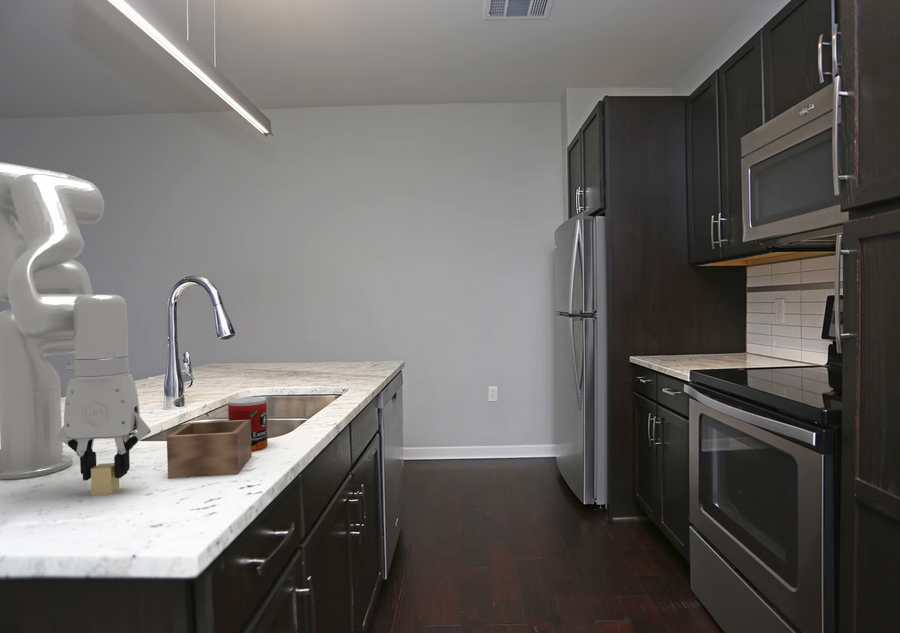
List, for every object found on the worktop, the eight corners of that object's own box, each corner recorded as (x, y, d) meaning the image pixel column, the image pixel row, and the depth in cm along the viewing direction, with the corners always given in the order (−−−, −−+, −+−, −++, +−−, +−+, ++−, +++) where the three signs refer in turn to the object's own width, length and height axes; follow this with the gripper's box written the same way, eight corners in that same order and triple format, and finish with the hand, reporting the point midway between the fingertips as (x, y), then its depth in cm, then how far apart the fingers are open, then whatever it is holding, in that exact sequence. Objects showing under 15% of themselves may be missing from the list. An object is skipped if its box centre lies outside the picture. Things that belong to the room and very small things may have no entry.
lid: (43, 517, 83) (42, 480, 83) (84, 490, 95) (83, 457, 95) (130, 510, 85) (129, 474, 85) (159, 485, 97) (158, 453, 97)
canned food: (255, 455, 112) (254, 403, 112) (221, 454, 114) (220, 402, 113) (274, 446, 120) (273, 397, 119) (242, 444, 121) (241, 396, 121)
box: (167, 481, 96) (166, 436, 96) (189, 462, 108) (188, 422, 108) (238, 476, 98) (236, 433, 98) (251, 458, 110) (250, 419, 110)
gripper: (32, 373, 85) (36, 488, 85) (147, 369, 87) (150, 480, 88) (59, 367, 92) (63, 473, 92) (164, 364, 95) (167, 467, 95)
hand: (105, 475), depth 90 cm, fingers open, 4 cm apart
